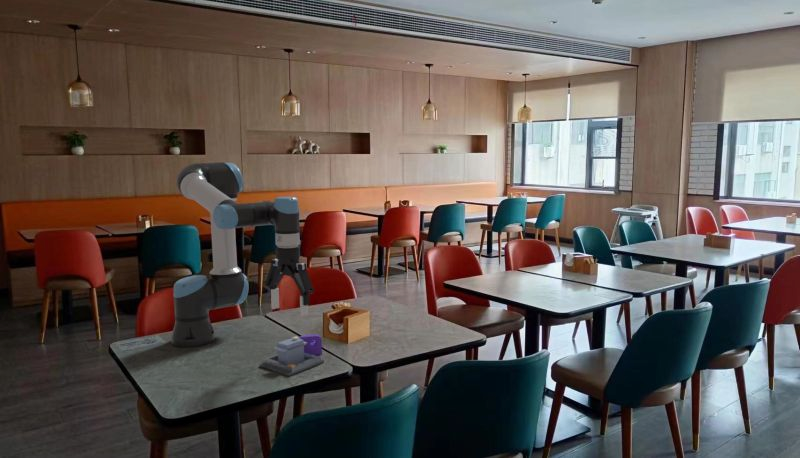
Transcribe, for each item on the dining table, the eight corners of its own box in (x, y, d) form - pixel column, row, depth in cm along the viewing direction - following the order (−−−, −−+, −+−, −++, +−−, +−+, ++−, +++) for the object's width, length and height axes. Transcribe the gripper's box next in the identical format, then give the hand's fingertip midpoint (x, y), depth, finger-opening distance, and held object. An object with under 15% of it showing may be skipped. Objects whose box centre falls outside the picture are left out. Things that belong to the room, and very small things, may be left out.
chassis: (259, 366, 193) (259, 358, 192) (294, 354, 204) (294, 346, 204) (289, 376, 184) (288, 367, 184) (323, 362, 196) (323, 354, 196)
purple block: (322, 355, 204) (321, 335, 203) (301, 357, 202) (301, 337, 202) (317, 344, 216) (316, 325, 215) (297, 346, 214) (297, 327, 213)
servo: (274, 365, 192) (273, 341, 191) (298, 356, 199) (297, 333, 198) (284, 368, 189) (283, 344, 188) (307, 359, 197) (306, 336, 196)
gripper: (252, 243, 194) (255, 307, 197) (306, 251, 179) (308, 320, 182) (270, 241, 200) (272, 303, 203) (324, 248, 185) (325, 315, 188)
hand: (289, 311), depth 192 cm, fingers open, 13 cm apart
